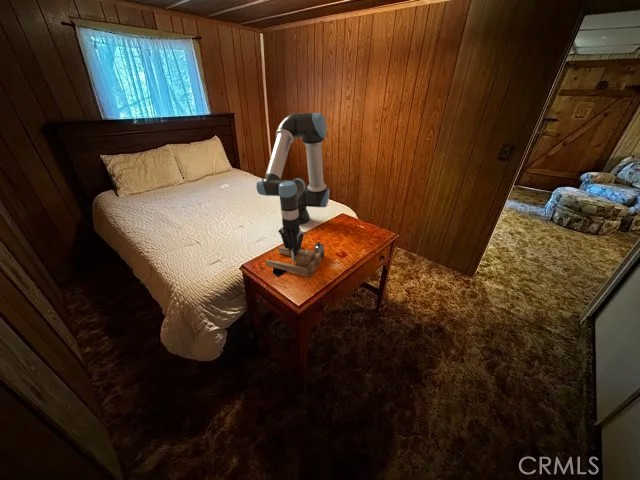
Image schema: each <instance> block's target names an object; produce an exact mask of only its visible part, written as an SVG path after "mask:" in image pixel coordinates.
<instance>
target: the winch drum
mask: <svg viewBox="0 0 640 480" xmlns="http://www.w3.org/2000/svg"><path fill="white" fill-rule="evenodd" d="M313 251H314V252H315V253H316V254H317V253H318V252H322V259H324V257H325V246H324V244H322V243H321V241H317V243H316V244H314V245H313Z"/></svg>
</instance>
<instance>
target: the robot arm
mask: <svg viewBox="0 0 640 480" xmlns="http://www.w3.org/2000/svg"><path fill="white" fill-rule="evenodd" d="M327 127H328V126H327V122H326V118H325V116H324V114H323V113H319V112H299V113H298V112H294V113H291V114H288V115H287V116H286V117H284V118H283V119H282V121H280V123H279V125H278V126H277V127H276V130H275V141H274V145H273V149H272V150H271V151H272V152H271V155H270V158H269V162H268V165H267V168H266V172H265V174H264V177H263V178H259V179H258V181H257V182H256V186H255V187H256V192H257V193H258V194H259V195H260V196H267V197H268V196H269V197H271V196H272V197H273V196H274V197H279V204H280V212H281V213H280V214H281V223H282V227H281V228H279V230H278V233H279V235H280V237H281V240H282V242H283V247H285V248H286V249H289V254H290V255H291V256H290V259H291V263H296V259H295V257H296V255H297V254H298V251H299V250H300V248H301V249H302V245H303V240H304V236H305V234H306V231H303V230H301V228H300V226H301V225H305V224H307V223H308V222H310V220H311V218H310V217H311V216H310V213H309V211H308V208H307V207H310V208H319V209H320V208H326V207H327V206H328V203H329V200H330V192H331V191H330V189H329V188H327V184H326V183H325V182H324V166H323V165H324V164H323V151H322V150H323V149H322V143H323V142H325V141H324V140H325V138H326V137H327V133H328V129H327ZM296 138H298V139H299V138H300V139H301V141H302V143H303V144H304V145H305V152H306V162H307V173H308V182H309V184H308V185H306V182H305V181H304V180H303V179H302V178H300V177H297V178H293V179H281V178H282V175H283V172H284V168H285V164H286V161H287V158H288V155H289V150H290V146H291V144H292V143H294V140H295V139H296ZM298 233H299V239H298V244H297V234H298ZM286 235H287V236H286Z"/></svg>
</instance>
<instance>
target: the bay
mask: <svg viewBox="0 0 640 480" xmlns="http://www.w3.org/2000/svg"><path fill="white" fill-rule="evenodd" d="M298 252H300V250H299V251H298ZM279 253H281V254H280V255H284V254H285V256H290V257H291V255H290V254H289V249H286V248H285V246H279V247H278V254H279ZM265 261H266V265H267V266H270V267H273V268H277V269H282V270H286V271H287V272H286V273H292V274H297V275H300V276H301V275H302V276H306V277H310V278H311V277H312V276H313V274H314V273H315V271H316V270H317V268H318V267H319V265H320V263H321V262H322V261H323V258H322V252H318V253H317V254H316V253H315V257H314V259H313V260H312V261H311V263H310V264H309V266H308V267H307V268H306V267H301V266H296V264H291V263H286V262H281V261H278V260H273V259H271V260H268V258H267V259H266V260H265Z"/></svg>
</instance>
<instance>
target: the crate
mask: <svg viewBox="0 0 640 480" xmlns="http://www.w3.org/2000/svg"><path fill="white" fill-rule="evenodd" d="M314 257H315V252H314V250H309V249H302V248H301V250H300V252H298V254H297V255H296V257H295V259H296V261H295V265H296V266H301V267H306V268H307V267H308V266H309V264H310V263H311V261H312V260H313V259H314Z"/></svg>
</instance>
